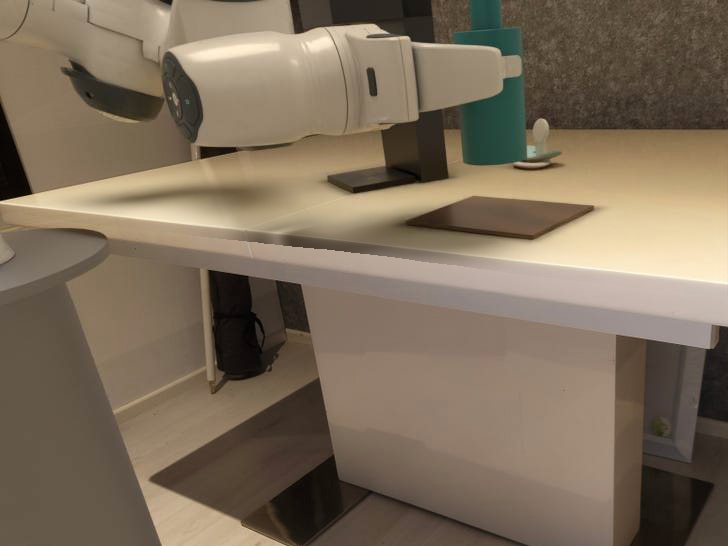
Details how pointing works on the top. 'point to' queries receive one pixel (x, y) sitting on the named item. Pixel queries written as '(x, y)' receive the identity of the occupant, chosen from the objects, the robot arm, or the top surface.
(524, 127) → the bottle
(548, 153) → the pacifier
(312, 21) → the dark post on base
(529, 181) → the top surface
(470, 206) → the board
